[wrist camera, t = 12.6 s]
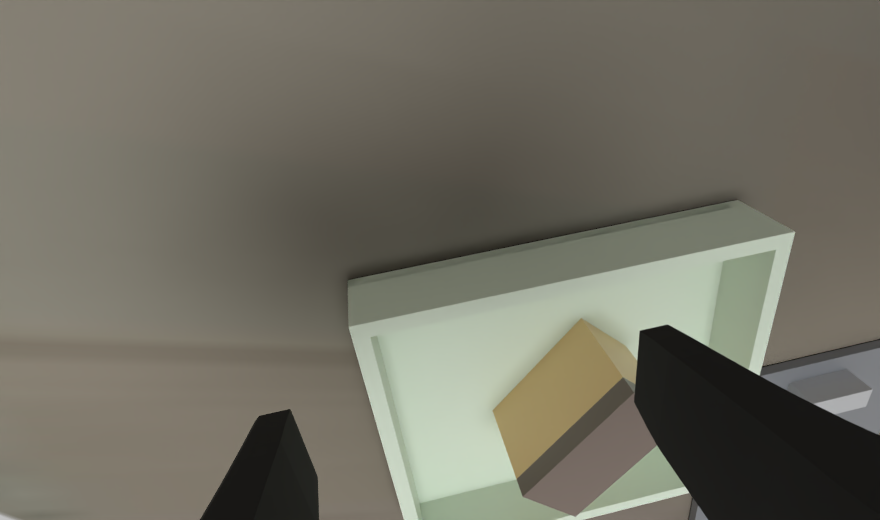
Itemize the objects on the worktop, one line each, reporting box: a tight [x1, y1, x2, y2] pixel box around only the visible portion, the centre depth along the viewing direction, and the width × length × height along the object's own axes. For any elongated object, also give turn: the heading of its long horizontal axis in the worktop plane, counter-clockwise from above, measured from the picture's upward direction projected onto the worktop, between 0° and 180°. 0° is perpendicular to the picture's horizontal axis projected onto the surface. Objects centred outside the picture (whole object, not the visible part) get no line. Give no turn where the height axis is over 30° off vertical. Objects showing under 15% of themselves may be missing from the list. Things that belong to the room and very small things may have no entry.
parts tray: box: [348, 200, 795, 520], centre depth 22 cm, size 16×14×3 cm
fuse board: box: [689, 340, 880, 520], centre depth 31 cm, size 11×22×2 cm, turn 8°
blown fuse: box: [493, 318, 657, 517], centre depth 21 cm, size 3×6×4 cm, turn 143°
